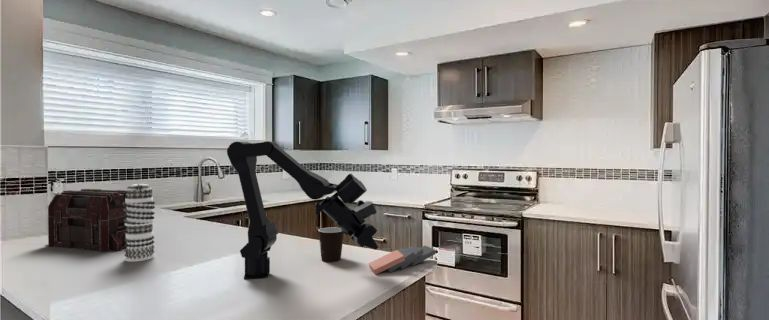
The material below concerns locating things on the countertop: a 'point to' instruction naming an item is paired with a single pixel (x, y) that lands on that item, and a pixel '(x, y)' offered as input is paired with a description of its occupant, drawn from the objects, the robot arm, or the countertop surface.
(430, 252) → the domino
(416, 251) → the domino
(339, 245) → the coffee mug
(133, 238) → the decorative candle
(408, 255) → the domino
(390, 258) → the domino
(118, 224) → the crate
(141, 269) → the countertop surface
